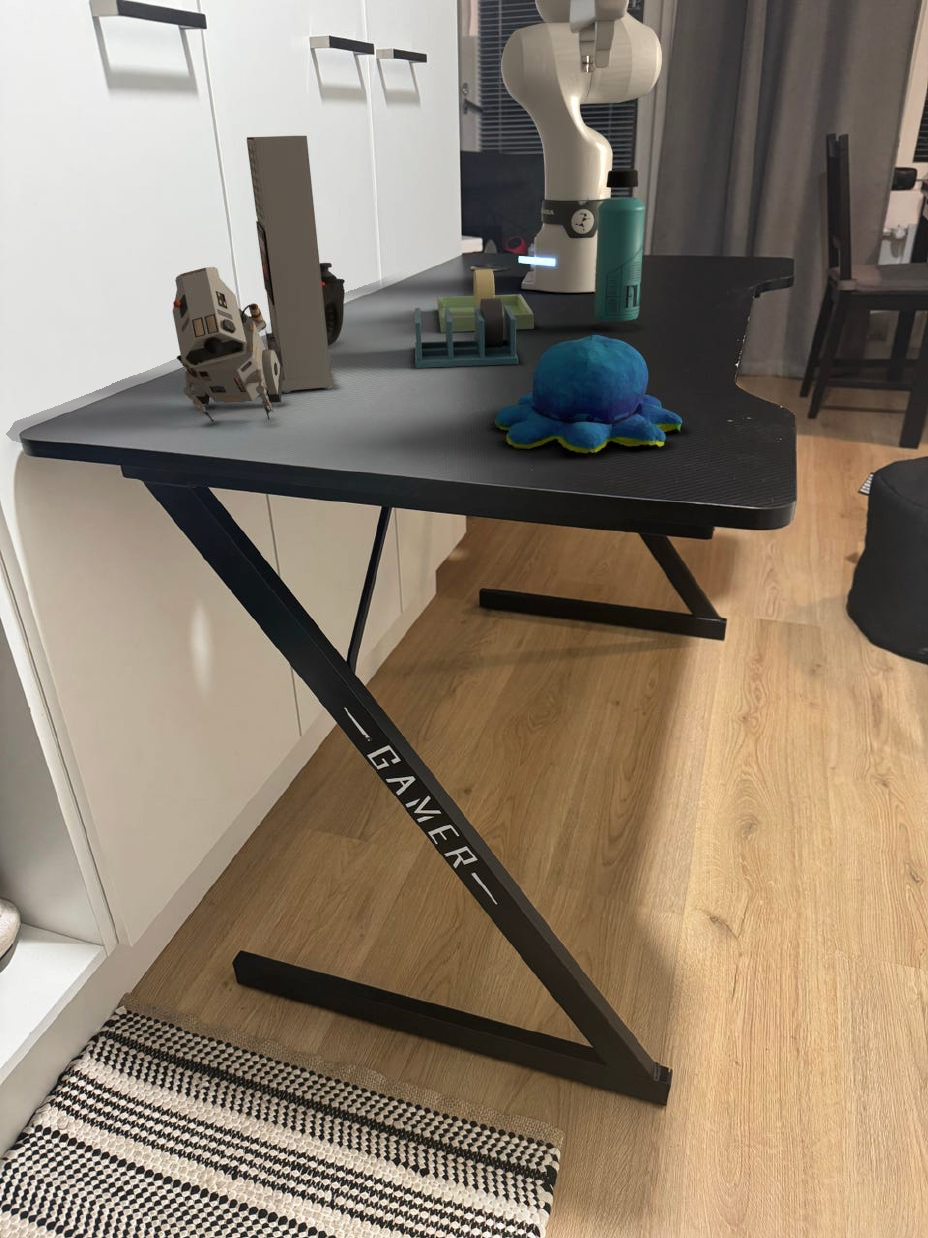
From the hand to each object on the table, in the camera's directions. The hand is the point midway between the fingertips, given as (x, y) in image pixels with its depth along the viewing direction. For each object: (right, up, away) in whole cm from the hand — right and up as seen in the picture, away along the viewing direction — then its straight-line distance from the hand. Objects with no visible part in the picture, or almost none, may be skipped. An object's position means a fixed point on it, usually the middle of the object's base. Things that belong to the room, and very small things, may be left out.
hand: (594, 70), depth 111 cm
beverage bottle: (+5, -28, +14) cm, 32 cm away
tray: (-14, -24, +22) cm, 35 cm away
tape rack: (-16, -36, +1) cm, 39 cm away
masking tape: (-13, -20, +21) cm, 32 cm away
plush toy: (-5, -51, -27) cm, 58 cm away
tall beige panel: (-36, -41, -7) cm, 55 cm away
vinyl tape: (-13, -32, -1) cm, 35 cm away
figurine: (-40, -46, -17) cm, 64 cm away
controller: (-36, -33, +8) cm, 49 cm away
